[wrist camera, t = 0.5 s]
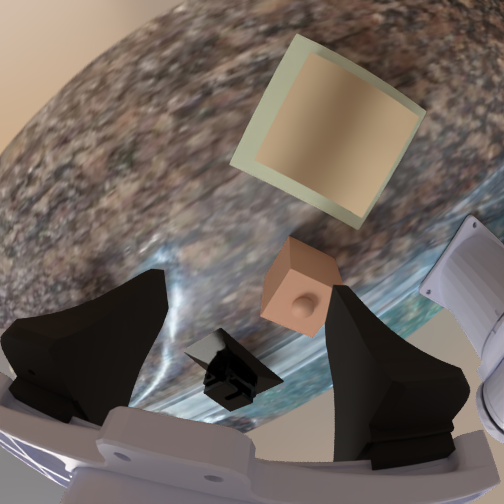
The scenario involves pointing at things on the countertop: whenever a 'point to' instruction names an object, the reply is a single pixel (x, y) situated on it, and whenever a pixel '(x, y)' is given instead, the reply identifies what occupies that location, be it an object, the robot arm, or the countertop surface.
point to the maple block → (336, 134)
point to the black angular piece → (230, 370)
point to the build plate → (273, 103)
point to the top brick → (299, 287)
